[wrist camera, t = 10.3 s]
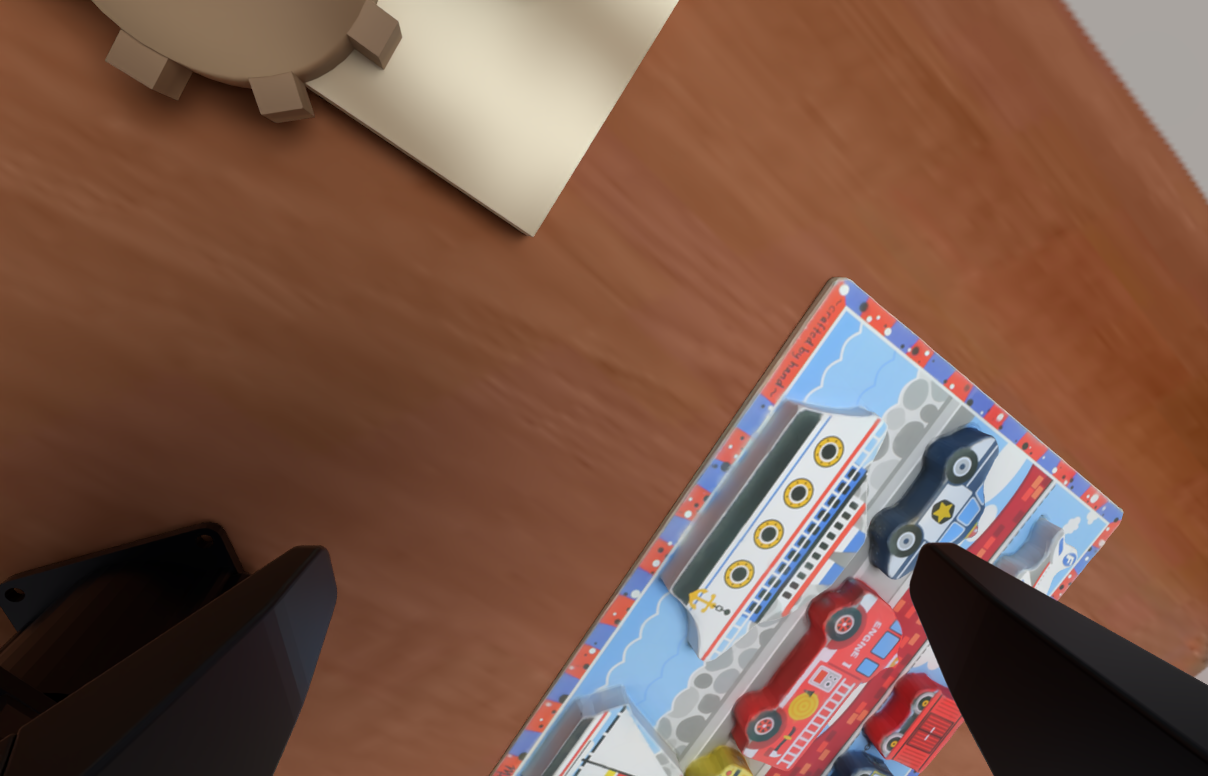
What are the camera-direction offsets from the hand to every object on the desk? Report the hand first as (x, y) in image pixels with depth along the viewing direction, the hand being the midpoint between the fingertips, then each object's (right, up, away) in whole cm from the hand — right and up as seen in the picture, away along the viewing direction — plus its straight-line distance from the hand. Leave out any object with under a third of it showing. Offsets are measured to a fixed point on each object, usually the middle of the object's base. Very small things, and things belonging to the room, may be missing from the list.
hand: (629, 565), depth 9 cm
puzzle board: (+9, -11, +21) cm, 25 cm away
